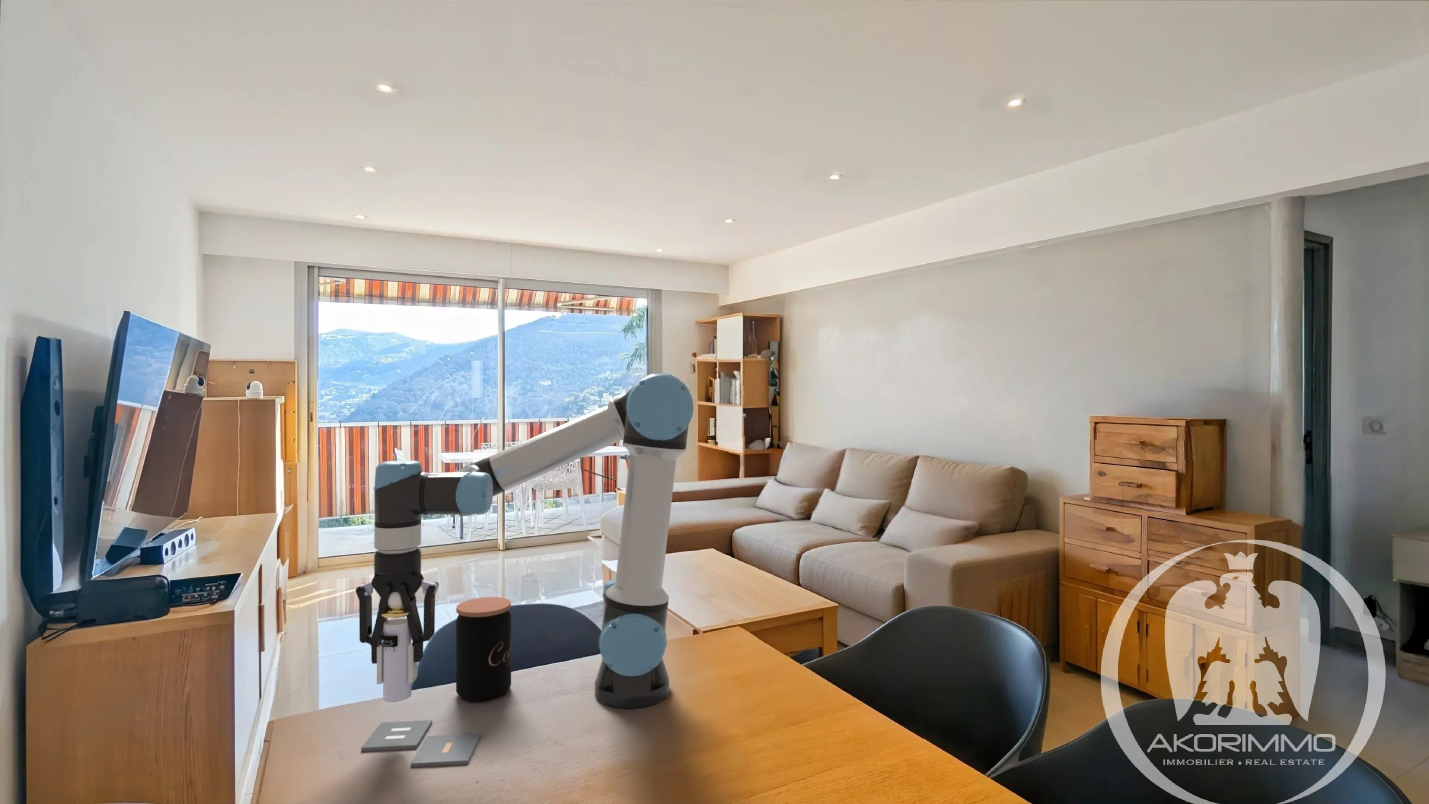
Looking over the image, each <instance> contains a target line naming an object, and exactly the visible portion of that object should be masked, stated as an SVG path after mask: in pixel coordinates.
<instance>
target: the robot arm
mask: <svg viewBox="0 0 1429 804" xmlns="http://www.w3.org/2000/svg"><path fill="white" fill-rule="evenodd" d="M693 400H694V399H693V397H692V394H691V392H690V390H689V388H688V387H687V385H686V384H685V382H683V381H681V380H680V379H679V378H677V376H676V377H675V376H674V375H672V374H667V373H661V372H660V373H656V372H654V373H649V374H648V375H645V376H643V377H641V378H640V379H638V380H636V382H635V383H634V384H633V385H632V387H631V388H629V389H627V390H625V391H624V392H622V393H620V394H618V395H616V396H613V397H611V398H610V400H609V402H608V404H607V405H606V406H602V407H600V408H598V409H596V410H594V411H591V412H588V413H587V414H584V415H582V416H579V417H577V418H575V419H573V420H570V421H568V422H566V423H563V424H561V425H560V426H559V425H558V426H557V427H554V428H552V429H550V430H546V431H545V432H543V433H540V434H538V435H536V436H533V437H532V438H528V439H526V440H524V441H522V442H520V443H518V444H516V445H513V446H511V447H508V448H506V449H504V450H500V451H499V452H496V453H495V454H492V455H490V456H487V457H486V458H483V459H481V460H478V461H476V462H473V463H470V464H468V465H465V466H463V467H461V468H460V469H457V470H455V471H450V472H449V471H447V472H446V471H445V472H431V471H430V472H428V471H424V470H423V468H422V467H423V466H422V463H421V462H420V461H417V460H408V459H407V460H405V459H404V460H389V461H383V462H380V463H378V464H377V466H376V467H375V473H374V477H375V478H374V487H373V492H374V493H373V494H374V495H373V496H374V499H373V500H374V534H373V535H374V537H373V539H374V541H373V544H374V545H373V547H374V549H375V550H376V551H375V552H374V554H373V555H374V556H373V558H374V559H373V565H374V566H373V567H374V568H373V571H374V572H373V573H374V576H373V578H372V579H371V581H369V582H367V583H366V582H364V583H361V584H360V585H359V586H357V587H355V593H356V596H357V598H358V601H359V602H358V603H359V605H358V607H359V608H358V609H359V610H358V611H359V613H358V614H359V616H358V617H359V619H358V620H359V624H358V625H359V627H358V628H359V642H360V643H361V644H364V643H365V644H368V645H370V647H371V650H370V651H371V657H370V658H371V660H370V661H371V663H372V665H373V664H375V665H376V685H383V646H381V645H380V643H379V638H380V634H381V635H382V633H383V623H384V622H385V621H386V620H388V619H389V618H383V617H381V616H380V612H386V610H387V609H388V608H389V606H388V604H387V603H388V598H389V595H390V594H391V593H393V592H399V594H400V597H401V601H402V605H403V608H404V609H405V612H411V615H408V616H405V617H407V621H408V625H409V629H410V633H411V637H412V643H411V644H410V645H409V646H408V683H411V684H413V683H414V682H415V680H417V678H418V663H420V662H421V661H422V660H423V657H424V642H429V641H430V640H431V639H432V638H433V636H434V635H435V634H436V633H435V628H436V626H435V623H436V622H435V621H436V619H435V618H436V617H435V616H436V615H435V614H436V594H437V592H438V589H439V586H440V584H439V582H437V581H433V582H431V581H428V580H425V578H424V576H423V574H422V549H421V548H420V546H421V545H422V515H423V516H424V515H425V516H429V515H432V516H433V515H434V516H435V515H440V516H441V515H444V516H445V515H448V516H449V515H452V516H453V515H454V516H455V515H458V516H459V515H461V516H463V515H464V516H465V515H466V516H472V515H482V514H486V513H488V512H489V511H490V509H491V507H492V503H493V499H494V496H497V495H499V494H502V493H504V492H506V491H508V490H510V489H512V488H516V487H517V486H519V485H522V484H524V483H527V482H529V481H530V480H533V479H535V478H537V477H540V476H542V475H544V474H547V473H549V472H552V471H554V470H556V469H558V468H560V467H563V466H566V465H568V464H570V463H572V462H574V461H576V460H580V459H581V458H583V457H586V456H588V455H591V454H593V453H595V452H597V451H600V450H602V449H605V448H607V447H609V446H611V445H614V444H616V443H619V442H621V441H622V445H623V446H624V447H625V449H626V450H627V451H628V453H629V458H628V468H627V478H626V479H627V480H626V484H625V486H626V487H625V495H624V504H623V512H622V513H623V514H622V520H621V521H622V522H621V531H620V539H619V545H618V547H619V549H618V557H617V564H616V571H615V572H616V573H615V578H614V579H611V580H608V581H606V582H605V583H604V586H603V593H602V597H603V610H602V611H603V613H602V622H601V629H600V635H599V638H598V648H599V651H600V656H601V658H602V660H601V662H600V666H599V669H598V672H597V675H596V679H595V683H594V697H595V699H596V700H597V701H598V702H600V703H601V704H602V705H603V704H604V706H608V707H612V708H619V709H638V708H644V707H645V708H646V707H649V706H652V705H655V704H657V703H660V702H662V701H663V700H665V699H666V698H667V697H668V696H669V693H670V677H669V675H668V671H667V668H666V665H665V661H664V655H665V653H666V649H667V645H668V643H667V642H668V639H667V634H666V627H667V619H668V618H667V616H668V610H669V601H670V597H669V594H668V593H667V592H666V591H665V589H664V588H663V579H664V573H665V572H664V571H665V562H666V553H667V545H668V544H667V543H668V536H669V529H670V518H671V509H672V501H673V494H674V493H673V492H674V483H675V474H676V465H677V459H678V458H679V457H680V456H681V455H682V454H684V453H685V452H686V451H687V444H688V443H687V442H688V436H689V435H688V434H689V425H690V423H691V421H692V418H693V415H694V401H693ZM420 588H421V589H422V594H423V595H424V598H423V626H422V622H421V619H420V618H421V617H420V613H419V610H418V609H419V608H418V605H417V596H416V593H417V592H418V591H419V590H420ZM374 590H375V592H376V593H377V595H378V596H379V597H380V599H379V602H378V609H377V614H376V619H375V622H374V627H373V596H372V594H373V592H374ZM380 628H381V629H380ZM381 631H382V632H381ZM381 637H382V636H381ZM380 641H381V640H380ZM382 643H383V642H382Z"/></svg>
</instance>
